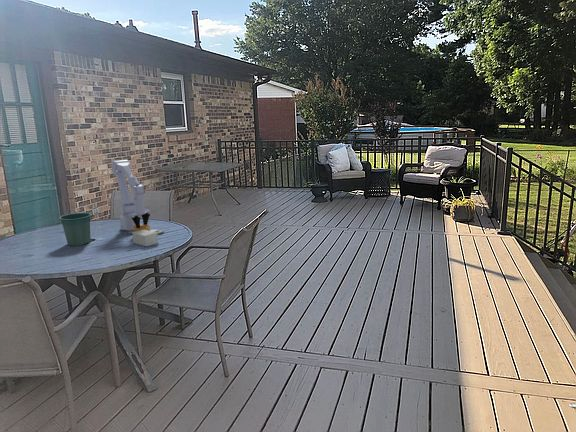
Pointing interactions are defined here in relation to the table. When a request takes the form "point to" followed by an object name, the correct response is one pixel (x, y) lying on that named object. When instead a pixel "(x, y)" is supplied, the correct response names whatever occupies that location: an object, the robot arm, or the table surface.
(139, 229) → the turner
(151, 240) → the small box
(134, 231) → the tool board
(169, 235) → the table surface
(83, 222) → the flower pot
